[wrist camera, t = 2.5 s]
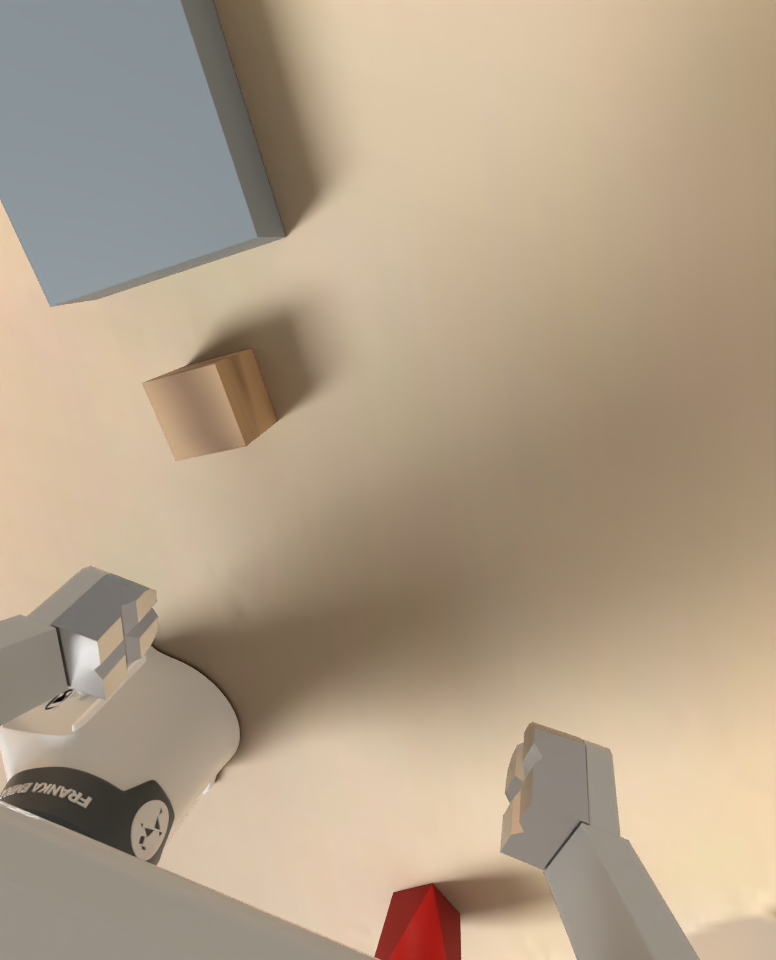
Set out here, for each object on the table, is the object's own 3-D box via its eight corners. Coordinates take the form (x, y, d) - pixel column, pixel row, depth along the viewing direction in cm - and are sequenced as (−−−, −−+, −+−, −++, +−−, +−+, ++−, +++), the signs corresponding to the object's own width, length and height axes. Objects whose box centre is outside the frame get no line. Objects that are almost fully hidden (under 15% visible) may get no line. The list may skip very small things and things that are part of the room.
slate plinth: (96, 299, 36) (50, 306, 33) (-13, 50, 31) (-81, 26, 28) (286, 237, 32) (257, 237, 29) (194, -60, 27) (146, -105, 24)
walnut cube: (214, 434, 39) (175, 461, 34) (186, 365, 37) (142, 383, 32) (278, 420, 37) (245, 446, 33) (252, 347, 35) (214, 363, 31)
